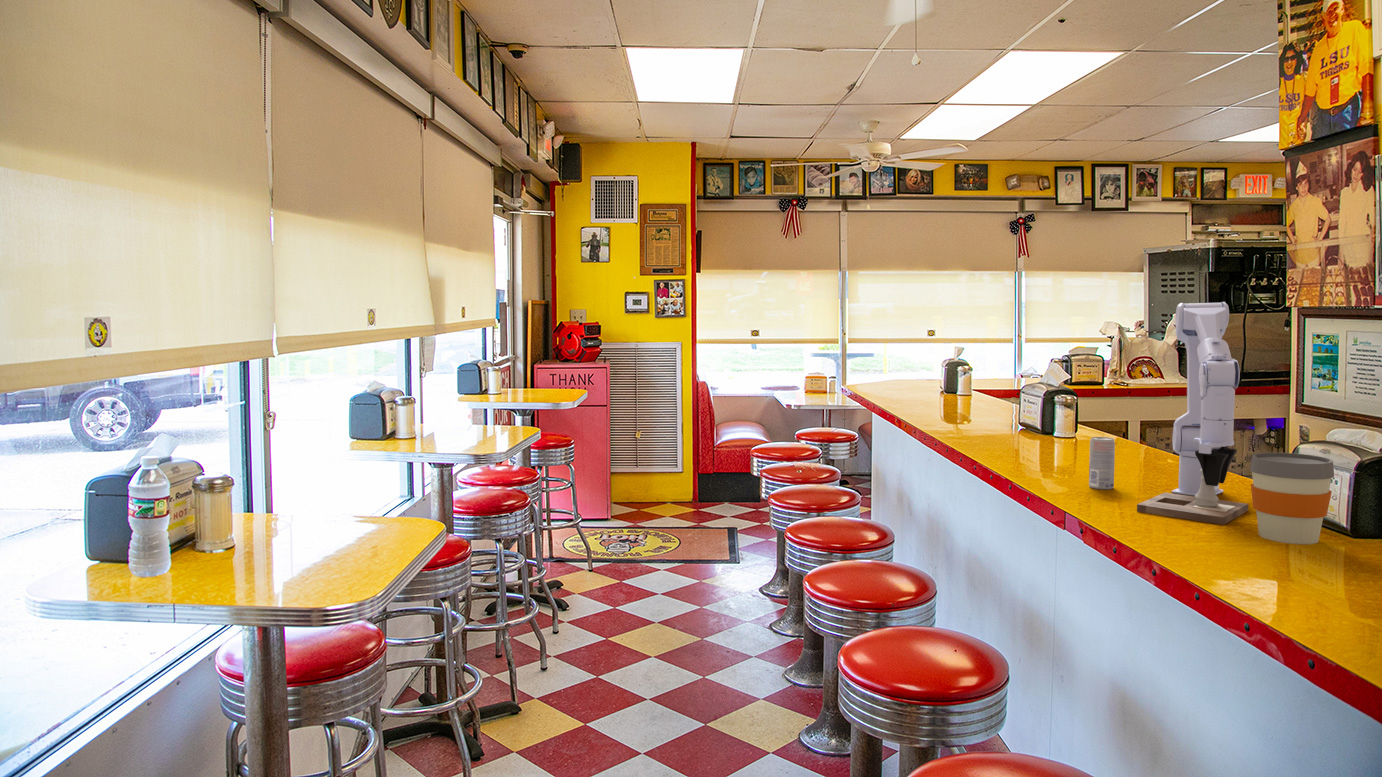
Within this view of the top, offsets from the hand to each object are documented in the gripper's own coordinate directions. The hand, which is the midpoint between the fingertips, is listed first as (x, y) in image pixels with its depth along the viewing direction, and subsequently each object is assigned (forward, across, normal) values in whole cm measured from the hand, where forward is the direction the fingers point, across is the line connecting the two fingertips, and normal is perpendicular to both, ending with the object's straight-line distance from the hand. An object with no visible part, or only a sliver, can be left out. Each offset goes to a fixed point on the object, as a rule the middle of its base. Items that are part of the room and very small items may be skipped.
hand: (1214, 483), depth 167 cm
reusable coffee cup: (+7, +10, +15) cm, 19 cm away
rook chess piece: (+5, 0, -1) cm, 5 cm away
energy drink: (+7, -11, -27) cm, 30 cm away
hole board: (+6, 0, -4) cm, 8 cm away
